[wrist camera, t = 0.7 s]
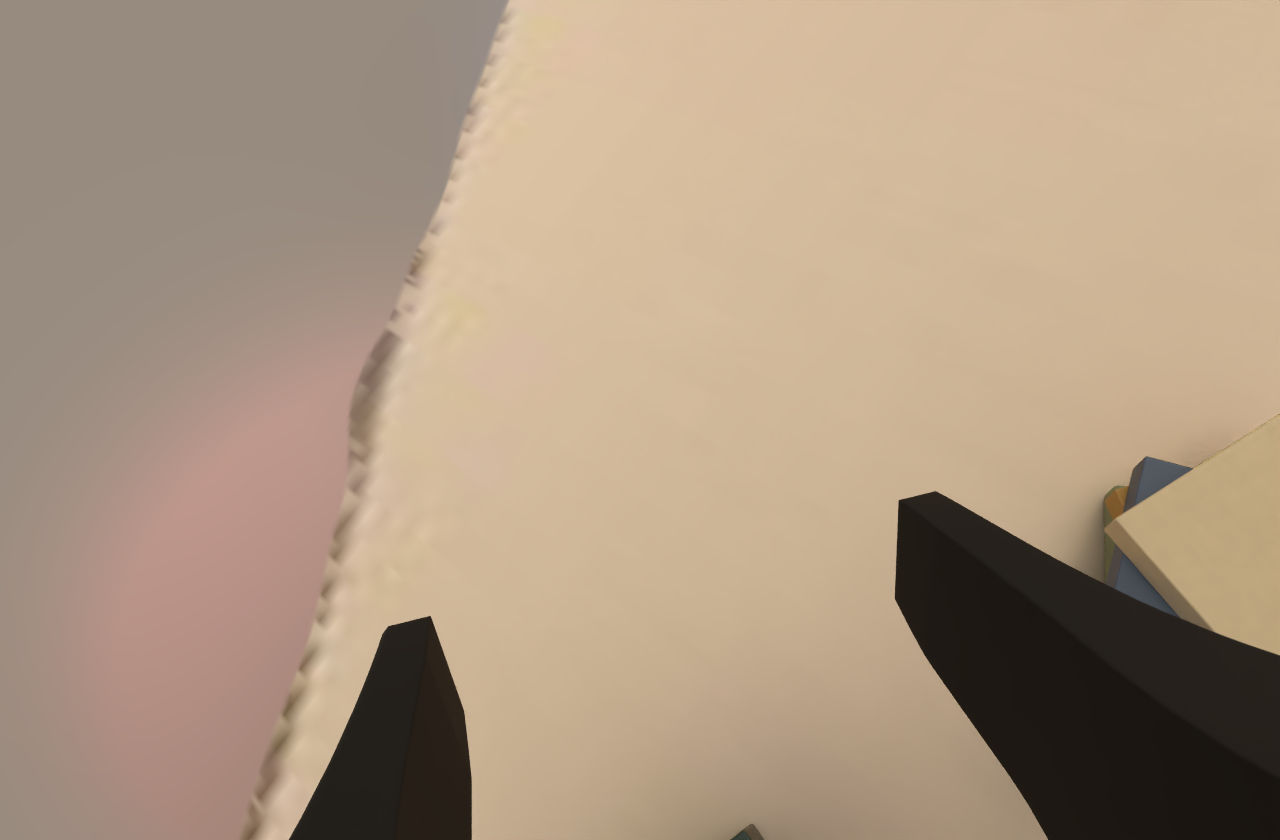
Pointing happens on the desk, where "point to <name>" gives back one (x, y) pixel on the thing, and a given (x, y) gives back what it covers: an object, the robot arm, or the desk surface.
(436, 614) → the desk surface
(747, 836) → the letter S
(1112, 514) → the stacked colored slabs
